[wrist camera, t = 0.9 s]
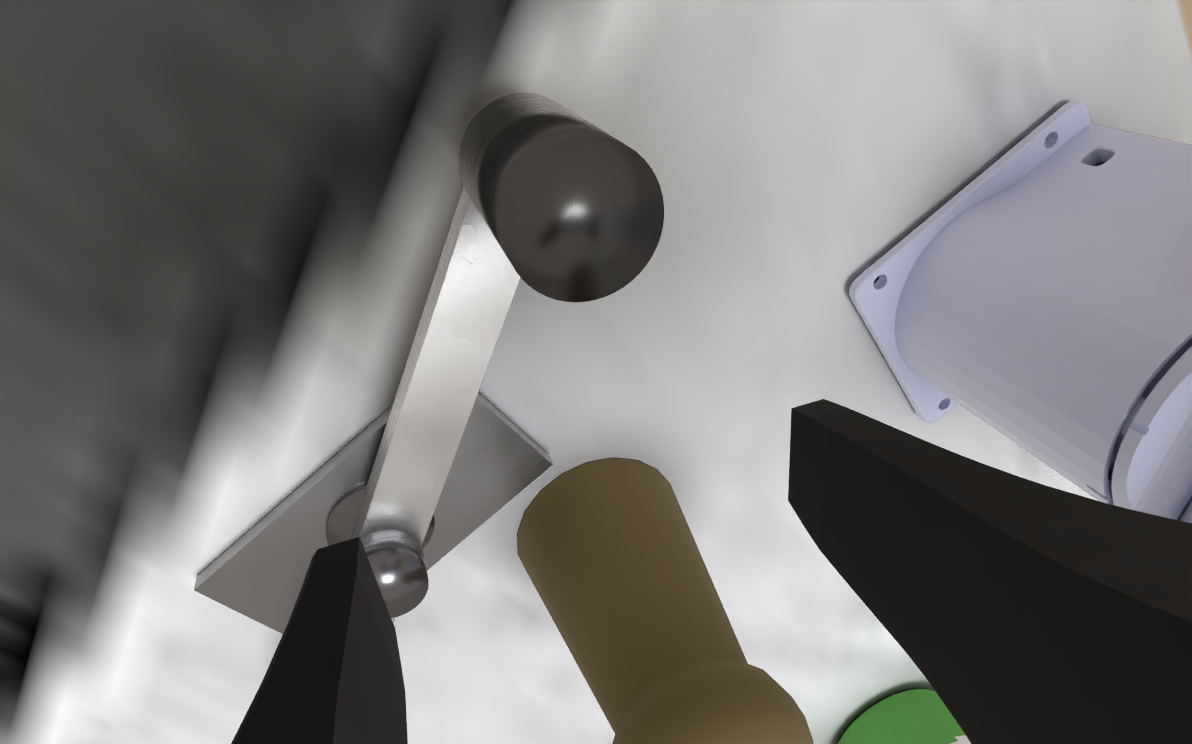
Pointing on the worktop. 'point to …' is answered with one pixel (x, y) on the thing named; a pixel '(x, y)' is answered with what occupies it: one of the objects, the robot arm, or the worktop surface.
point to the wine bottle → (906, 721)
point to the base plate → (332, 501)
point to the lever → (499, 298)
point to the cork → (646, 613)
